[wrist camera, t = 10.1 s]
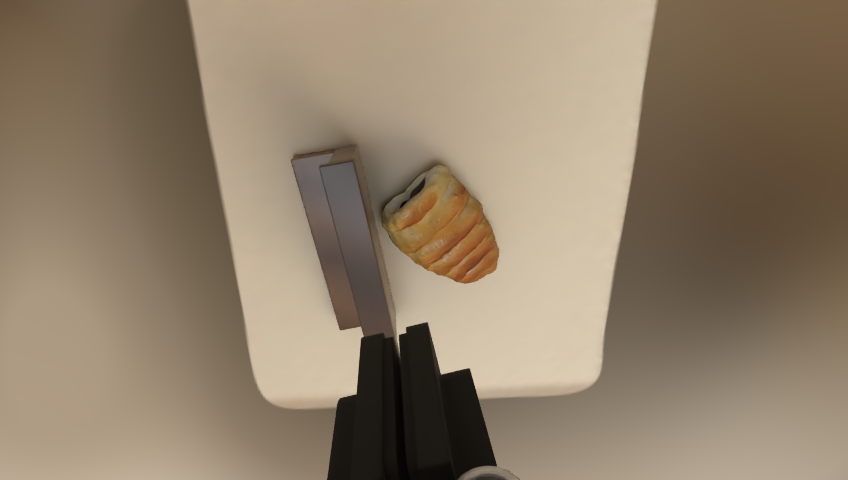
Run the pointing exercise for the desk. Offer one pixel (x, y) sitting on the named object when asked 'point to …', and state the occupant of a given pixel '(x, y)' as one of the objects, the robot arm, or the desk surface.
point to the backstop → (347, 239)
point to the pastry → (442, 227)
